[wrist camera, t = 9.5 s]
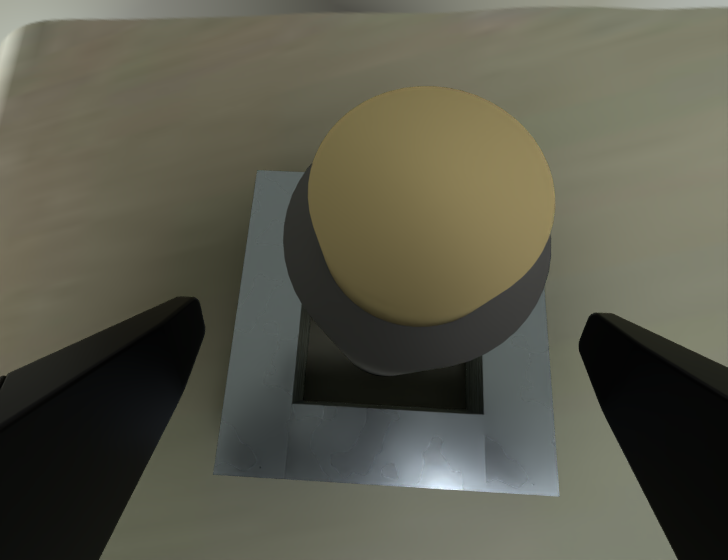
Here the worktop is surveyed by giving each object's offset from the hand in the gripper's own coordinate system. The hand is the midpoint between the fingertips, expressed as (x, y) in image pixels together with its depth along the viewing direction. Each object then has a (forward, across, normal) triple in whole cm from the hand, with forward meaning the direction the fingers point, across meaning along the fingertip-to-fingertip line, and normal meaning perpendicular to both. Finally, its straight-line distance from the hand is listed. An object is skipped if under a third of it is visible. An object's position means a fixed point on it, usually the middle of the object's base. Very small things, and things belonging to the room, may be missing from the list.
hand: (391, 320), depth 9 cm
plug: (+7, 0, +5) cm, 8 cm away
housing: (+7, 0, +5) cm, 8 cm away
